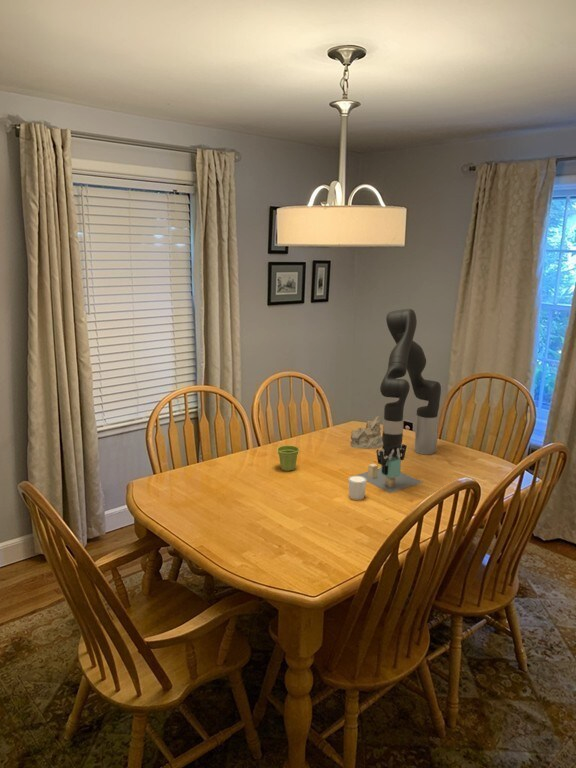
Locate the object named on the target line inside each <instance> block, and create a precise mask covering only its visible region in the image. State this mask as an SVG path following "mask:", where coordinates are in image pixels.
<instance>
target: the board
mask: <svg viewBox="0 0 576 768" xmlns="http://www.w3.org/2000/svg"><path fill="white" fill-rule="evenodd" d="M367 466H368V467H367V469H368V470H367V471H366V472H363V473H362V472H361V473H358V474H355V475H354V476H362V477H365V478H366V479H367V481H366V483H369V484H372V485H373V486H375V487H377V488H379V489H381V490H384V491H385V492H387V493H389V494H391V493H394V492H397V491H400V490H405V489H406V488H409V487H412V486H416V485H419V484H422V483H424V481H422V480H419V479H417V478H415V477H414V476H413V477H412V476H410V475H408V474H406V473H404V472H402V471H400V476H397V477H395V486H392V487H389V486H387V485H385V482H386V476H384V475H382V474H381V467H380V468H379V466H378V465H377V464H376V463H370V464H368V465H367Z"/></svg>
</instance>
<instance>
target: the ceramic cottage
mask: <svg viewBox="0 0 576 768" xmlns="http://www.w3.org/2000/svg"><path fill="white" fill-rule="evenodd" d="M380 422H381V421H380V416H375V418H374V420H367V421H366V425H365V427H364V426H363V425H360V427H358V428H357V430H355V429H352V430H351V435H350V446H351V448H355V449H356V448H357V449H364V450H370V449H372V450H374V449H375V450H376V449H380V448H381V449H382V447H383V442H382V434H381V433H382V432H381V430H382V428H381V423H380Z"/></svg>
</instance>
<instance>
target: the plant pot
mask: <svg viewBox="0 0 576 768" xmlns="http://www.w3.org/2000/svg"><path fill="white" fill-rule="evenodd" d="M276 451H277V454H278V456H279V457H278V458H279V463H280V464H279V465H280V469H281V470H282V471H285V472H290V471H294V470H296V466H297V458H298V453H299V452H300V448H299V447H297V446H295V445H286V444H285V445H281V446H278V447H277V449H276Z"/></svg>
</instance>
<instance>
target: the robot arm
mask: <svg viewBox="0 0 576 768" xmlns="http://www.w3.org/2000/svg"><path fill="white" fill-rule="evenodd" d="M385 321H386V325H387V327H388V328H387V329H388V331H389V334H390V335H391V337H392V339H393V340H394V342H395V344H396V345H394V347H393V348H392V350H391V351H390V354H389V357H388V364H387V365H388V366H387V370H386V373H385V375H384V377H383V379H382V382H381V383H380V387H379V388H380V389H379V390H380V393H381V395H382V396H383V397H384V398H398V400H397V401H393V402H387V403H386V404H385V405H384V407H383V408H384V411H383V422H382V434H381V436H382V442H383V446H382V447H381V449H377V450H376V451H375V452H376V458H377V459H376V460H377V463H378V464H379V465H380V466H381V465H382V473H383V474H384V475H387V474H388V461H390V460H391V457H396V458H399V459H401V461H404V460H405V457H406V451H407V447H408V446H407V445H406V444H403V434H404V409H405V403H406V401H407V398H408V395H409V393H410V388H411V387H412V390H413V395H414V397H415V398H416V399H419V400H421V401H427V405H424V406H420V407H418V408H416V417H415V418H416V419H415V432H414V433H415V434H414V435H415V436H414V448H413V449H414V452H415V453H417V454H419V455H433V454H436V452H437V449H438V448H437V447H438V436H439V435H438V433H439V432H438V430H437V429H438V428H437V427H438V426H437V425H438V414H439V409H440V400H441V396H442V395H441V393H442V387H441V383H440V382H439V381H436V380H430V379H426V378H423V377H424V376H423V375H422V373H423V372H424V370H425V368H426V366H427V359H426V355H425V352H424V350H423V349H424V348H422V346H421V345H420V344H418V343H417V342H416V341H414V336H415V334H416V329H417V321H418V320H417V315H416V313H415V310H414V309H412V308H406V309H397V310H392V311H389V312H388V313H387V315H386V320H385ZM407 373H408V376H409V380H410V383H411V385H410V383H409V381H408V380H407V379H402V378H403V377H405V376H406V375H407ZM387 456H388V458H387ZM385 459H386V462H385Z"/></svg>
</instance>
